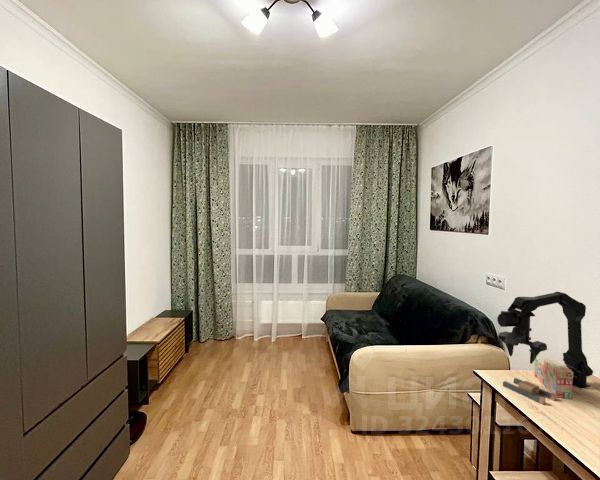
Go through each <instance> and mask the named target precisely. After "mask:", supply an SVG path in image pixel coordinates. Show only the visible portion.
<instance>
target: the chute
mask: <svg viewBox="0 0 600 480" xmlns="http://www.w3.org/2000/svg"><path fill="white" fill-rule="evenodd" d="M523 381H524V380H521V379H519V378H517V377H514V378H513V383H514V384H512V383H510V382H508V381H506V380H505V381H502V387H504V388H506V389H509V390H510V391H513V392H515V393H517V394H519V395H521V396H523V397H525V398H527V397H528V399H530V400H532V401H534V402H536V403H539V404H540V405H546V398H547V399H548V400H549V399H550V400H551V401H554V402H555V401H557V399H558V398H557V394H555V393H551V392H550V391H547V390H545V389H543V388H540V387H539V395H541V396H539V395H535V394H533V393H530V392H528V391H526V390H524V389H522V388H519V387H518V386H519V382H523ZM517 385H518V386H517Z"/></svg>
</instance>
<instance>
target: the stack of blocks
mask: <svg viewBox="0 0 600 480" xmlns="http://www.w3.org/2000/svg"><path fill="white" fill-rule="evenodd" d="M534 377H535V378H536V380H538V382H540V383H541V384H542V385H543V386H544V387H545V388H546V389H547V390H548V392H550V393H555V394H557V399H565V398H568V400H572V397H573V392H572V391H573V386H574V385H573V372H572V371H571V370H570V369H569V368H568V367H567V366H566V364H565V363H563V362H561V361H560V360H558V359H550V358H545V357H544V358H543V357H542V358H540V357H536V358H535V360H534Z"/></svg>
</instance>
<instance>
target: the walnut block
mask: <svg viewBox="0 0 600 480" xmlns="http://www.w3.org/2000/svg"><path fill="white" fill-rule="evenodd" d="M522 381H523V382H519V385H518V386H517V387H519V388H522V389H524V390H526V391H528V392H530V393H533V394H535V395H537V396H539V395H540V394H539V388H540V385H538V384H535V383H532V382H530V381H528V380H522Z"/></svg>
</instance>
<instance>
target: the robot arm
mask: <svg viewBox="0 0 600 480" xmlns="http://www.w3.org/2000/svg"><path fill="white" fill-rule="evenodd" d="M553 304H557V305H559V306H561V308H562V313H563V315H564V316H565V318H566V321H567V341H568V342H567V343H568V347H567V348H568V349H567V351H566V352H563V353H562V356H563V359H562V361H563V362H564V363H563V364H564V365H565V366H567V367H568V368H569V369H570V370H571V371H572V372H573V385H572V386H574V387H576V388H578V389H582V390H584V389H586V388H588V387H591V384H588V383H587V380H588V379H587V378H588V377H591V376H593V375H594V370H593V369H592V368H591V367H590V366H589V363H588V359H587V357H586V355H585V353H584V352H583V344H582V343H583V342H582V338H583V337H582V321H583V319H584V317H585V316H586V309H587V307H586V304H584V303H583V302H580V301H578V300H576V299H575V298H573V297H571V296H570V295H569V294H567V293H564V292H561V291H555V292H551V293H547V294H540V295H536V296H517V297H515V298H514V300H513V302H512V303H511V304H510V306H509V307H508V308H507V310H506V311H505V310H501V311H500V313H499V314H498V315H497V317H496V318H497V319H496V320H497V324H498V325H499V326H500V327H502V328H507V327H512V329H511V330H512V331H511V332H510V331H506V330H505V331H502V332H499V333H498V337H497V339H498V340H500V341H501V342H503V343H504V345H505V346H506V349H507V352H508V354H509V356H510V357H512V356H513V353H514V347H516V346H519V344H520V345H526V346H529V348H530V349H528V351H529V353H530V356H529V363H530V364H533V363H535V358H538V355H539V354H540V353H541V352H545V351H547V350H548V345H547V344H546V343H545V342H541V341H538V340H535V341H531V340H532V337H531V336H530V333H531V332H532V328H531V318H532V317H535V316H536V314H534V313H533V311H536V310H537V309H538V308H540V307H544V306H549V305H553Z"/></svg>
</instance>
